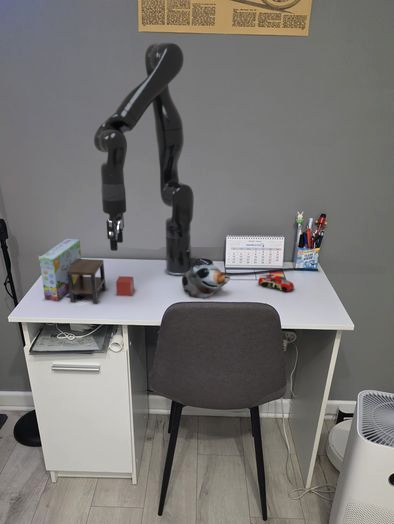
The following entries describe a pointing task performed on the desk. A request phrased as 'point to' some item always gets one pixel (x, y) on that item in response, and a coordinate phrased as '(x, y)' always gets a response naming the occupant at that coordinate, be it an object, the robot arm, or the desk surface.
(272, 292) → the desk surface
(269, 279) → the race car
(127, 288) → the block
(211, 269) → the spotted animal figurine
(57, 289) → the snack box
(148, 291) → the desk surface
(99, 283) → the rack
